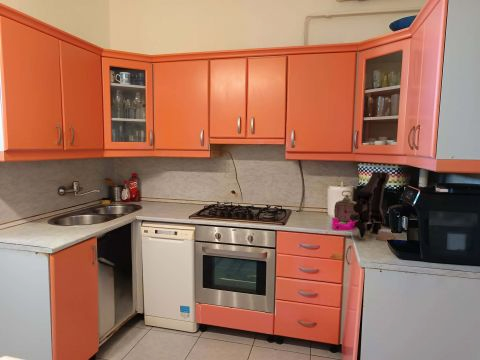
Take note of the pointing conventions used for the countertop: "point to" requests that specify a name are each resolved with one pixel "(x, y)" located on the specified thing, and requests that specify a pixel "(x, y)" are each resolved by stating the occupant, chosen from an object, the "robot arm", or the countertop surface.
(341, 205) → the tabletop clock
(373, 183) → the robot arm
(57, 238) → the countertop surface
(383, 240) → the tower base
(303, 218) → the countertop surface
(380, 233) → the tower top
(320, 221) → the countertop surface
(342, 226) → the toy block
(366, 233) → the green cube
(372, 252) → the countertop surface
